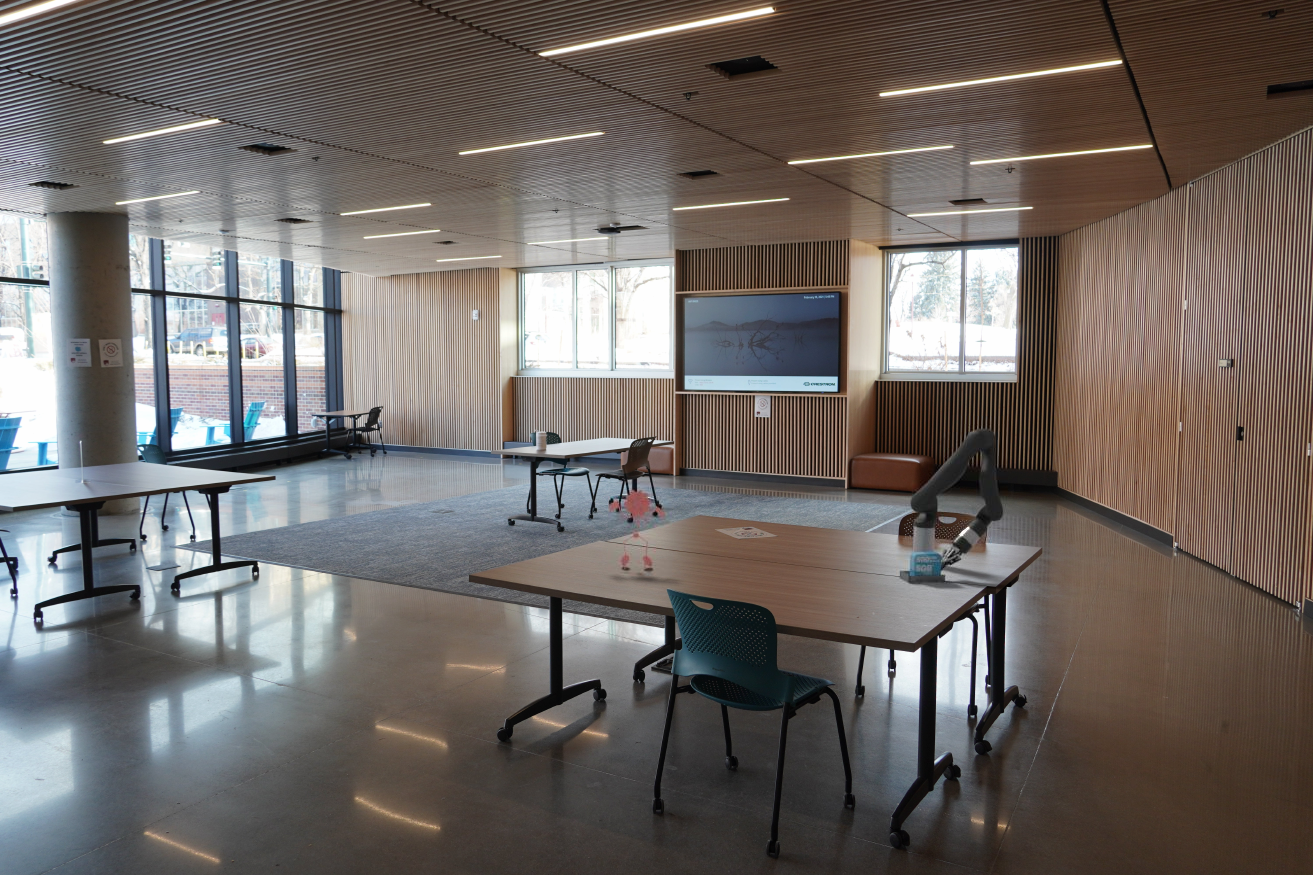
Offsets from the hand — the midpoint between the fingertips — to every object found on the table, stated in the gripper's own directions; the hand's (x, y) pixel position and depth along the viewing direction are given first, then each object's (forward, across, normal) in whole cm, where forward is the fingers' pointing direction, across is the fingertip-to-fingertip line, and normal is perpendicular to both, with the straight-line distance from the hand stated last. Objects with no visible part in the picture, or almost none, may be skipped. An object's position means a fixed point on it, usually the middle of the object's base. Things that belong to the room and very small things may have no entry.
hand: (938, 569), depth 382 cm
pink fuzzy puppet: (+90, -41, -85) cm, 131 cm away
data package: (+8, +2, -2) cm, 8 cm away
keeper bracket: (+8, 0, -2) cm, 8 cm away
